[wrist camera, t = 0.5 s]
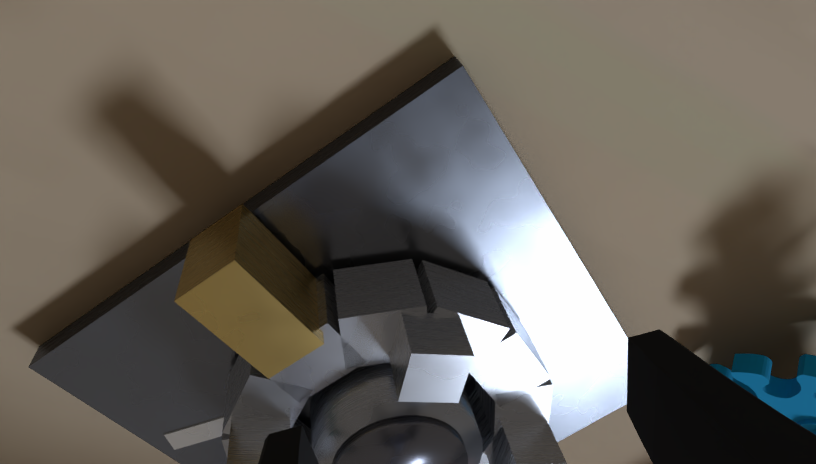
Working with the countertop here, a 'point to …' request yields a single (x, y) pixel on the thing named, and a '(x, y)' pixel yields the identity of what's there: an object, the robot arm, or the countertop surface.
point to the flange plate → (357, 246)
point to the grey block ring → (361, 340)
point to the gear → (778, 386)
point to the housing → (389, 424)
